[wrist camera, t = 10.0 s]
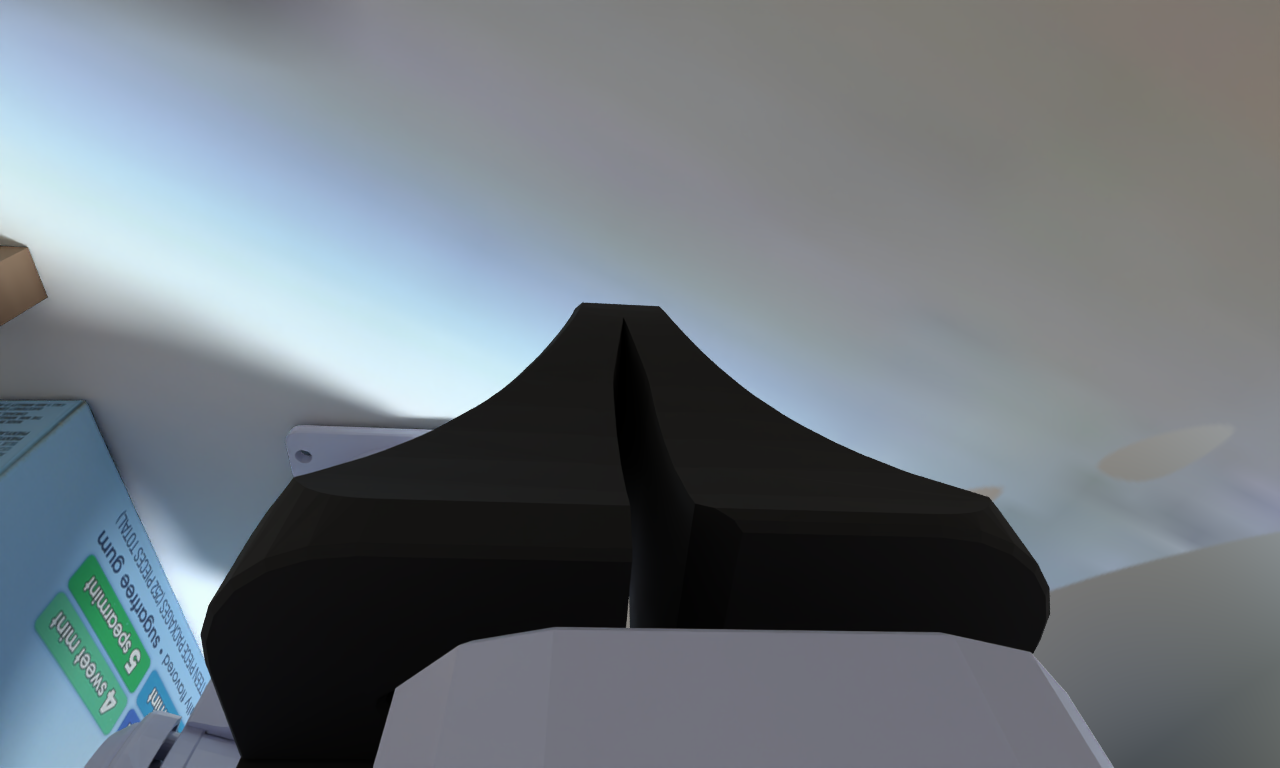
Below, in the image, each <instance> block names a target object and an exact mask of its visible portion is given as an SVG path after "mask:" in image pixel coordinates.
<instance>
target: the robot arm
mask: <svg viewBox="0 0 1280 768" xmlns="http://www.w3.org/2000/svg"><path fill="white" fill-rule="evenodd" d="M285 443H286V448H287V452H288V457H289V461H290V465H291V470H292V474H293V479H292V480H291V482H290V483H289V484H288V486H287V487H286V489H285V490H284V491H283V492H282V494H281V495H280V496H279V497H278V499H277V500H276V501H275V503H274V504H273V505H272V506H271V508H270V509H269V510H268V511H267V513H266V514H265V516H264V517H263V519H262V520H261V522H260V523H259V525H258V526H257V528H256V529H255V531H254V532H253V533H252V535H251V536H250V538H249V540H248V541H247V543H246V545H245V546H244V548H243V550H242V551H241V553H240V555H239V556H238V558H237V560H236V561H235V563H234V564H233V566H232V568H231V569H230V571H229V573H228V574H227V576H226V578H225V579H224V581H223V583H222V584H221V586H220V588H219V589H218V591H217V592H216V594H215V596H214V597H213V599H212V601H211V602H210V604H209V606H208V610H207V613H206V617H205V620H204V624H203V627H202V631H201V640H202V646H203V652H204V658H205V664H206V667H207V669H208V672H209V674H210V677H211V679H210V680H209V682H208V684H207V686H206V688H205V690H204V691H203V693H202V695H201V697H200V699H199V701H198V702H197V704H196V706H195V708H194V710H193V712H192V713H191V715H190V717H189V719H188V721H187V723H186V725H185V727H184V729H183V730H182V732H181V733H179V732H177V730H178V728H179V725H180V722H181V719H182V717H181V716H178V715H174V714H171V713H168V712H164V711H153V712H151V713H149V714H148V715H146V716H145V717H144V718H143V720H142V721H141V722H137V723H134V724H132V725H130V726H128V727H126V728H124V729H122V730H119V731H117V732H115V733H114V734H112V735H111V736H109V737H108V738H107V739H106V740H105V741H104V742H103V743H102V745H101V746H100V747H99V748H98V749H97V751H96V752H95V753H94V754H93V756H92V757H91V758H90V760H89V761H88V762H87V764H86V765H85V766H84V768H1114V767H1113V766H1112V764H1111V762H1110V761H1109V759H1108V758H1107V756H1106V754H1105V753H1104V751H1103V750H1102V748H1101V746H1100V745H1099V743H1098V742H1097V740H1096V738H1095V737H1094V735H1093V734H1092V732H1091V731H1090V729H1089V728H1088V726H1087V724H1086V723H1085V721H1084V719H1083V718H1082V716H1081V715H1080V713H1079V711H1078V710H1077V708H1076V707H1075V705H1074V704H1073V702H1072V700H1071V699H1070V698H1069V696H1068V694H1067V693H1066V692H1065V690H1064V689H1063V688H1062V687H1061V686H1060V685H1059V684H1058V683H1057V681H1056V680H1055V679H1054V678H1053V677H1052V676H1051V675H1050V673H1049V672H1048V671H1047V670H1046V669H1045V668H1044V667H1043V666H1042V664H1041V663H1040V662H1039V661H1038V660H1037V659H1036V658H1035V656H1034V655H1033V653H1034V651H1035V649H1036V647H1037V645H1038V643H1039V641H1040V640H1041V637H1042V634H1043V631H1044V629H1045V626H1046V623H1047V620H1048V618H1049V615H1050V594H1049V586H1048V584H1047V582H1046V580H1045V578H1044V576H1043V574H1042V572H1041V570H1040V568H1039V565H1038V563H1037V562H1036V561H1035V559H1034V558H1033V557H1032V555H1031V554H1030V552H1029V551H1028V550H1027V548H1026V547H1025V545H1024V544H1023V543H1022V541H1021V540H1020V539H1019V537H1018V536H1017V534H1016V533H1015V532H1014V530H1013V529H1012V527H1011V526H1010V525H1009V523H1008V522H1007V520H1006V519H1005V518H1004V516H1003V515H1002V514H1001V512H1000V511H999V509H998V508H997V507H996V506H995V504H994V503H993V502H992V500H991V499H990V498H989V497H986V496H983V495H980V494H977V493H973V492H970V491H967V490H964V489H960V488H957V487H954V486H951V485H947V484H944V483H941V482H937V481H934V480H931V479H928V478H924V477H921V476H918V475H914V474H911V473H908V472H906V471H903V470H900V469H898V468H895V467H892V466H890V465H887V464H885V463H882V462H880V461H877V460H875V459H872V458H870V457H867V456H864V455H862V454H860V453H857V452H855V451H853V450H851V449H848V448H846V447H844V446H842V445H840V444H837V443H835V442H833V441H831V440H829V439H827V438H825V437H823V436H822V435H820V434H818V433H816V432H814V431H812V430H810V429H808V428H806V427H804V426H802V425H800V424H799V423H797V422H795V421H793V420H792V419H790V418H788V417H786V416H785V415H783V414H782V413H780V412H778V411H777V410H775V409H774V408H772V407H771V406H769V405H768V404H766V403H765V402H763V401H762V400H760V399H759V398H757V397H756V396H754V395H753V394H752V393H750V392H749V391H748V390H746V389H745V388H743V387H742V386H741V385H740V384H738V383H737V382H736V381H735V380H734V379H732V378H731V377H730V376H729V375H728V374H726V373H725V372H724V371H723V370H722V369H720V368H719V367H718V366H717V365H716V364H715V363H714V362H713V361H711V360H710V359H709V358H708V357H707V356H706V355H705V354H704V353H703V352H702V351H701V350H700V349H699V348H698V347H697V346H696V345H695V344H694V343H693V342H692V341H691V340H690V339H689V338H688V337H687V336H686V335H685V334H684V333H683V332H682V331H681V329H680V328H679V327H678V326H677V325H676V324H675V323H674V322H673V321H672V320H671V318H670V317H669V316H668V315H667V314H666V313H665V312H664V311H663V310H662V309H661V308H660V307H659V306H641V305H621V304H601V303H581V304H580V305H579V306H578V307H577V308H575V310H574V312H573V314H572V315H571V317H570V318H569V320H568V321H567V323H566V324H565V326H564V327H563V328H562V330H561V331H560V332H559V333H558V335H557V336H556V337H555V338H554V339H553V340H552V342H551V343H550V344H549V345H548V346H547V347H546V349H545V350H544V351H543V352H542V353H541V354H540V355H539V356H538V357H537V358H536V359H535V360H534V361H533V362H532V363H531V364H530V365H529V366H528V367H527V368H526V369H525V370H524V371H523V372H522V373H521V374H520V375H518V376H517V377H516V378H515V379H514V380H513V381H512V382H510V383H509V384H508V385H507V386H506V387H504V388H503V389H502V390H501V391H499V392H498V393H496V394H495V395H493V396H492V397H491V398H489V399H488V400H486V401H485V402H483V403H482V404H480V405H478V406H476V407H475V408H473V409H471V410H469V411H467V412H466V413H464V414H462V415H460V416H458V417H457V418H455V419H453V420H451V421H449V422H448V423H446V424H444V425H442V426H440V427H438V428H436V429H434V430H426V429H398V428H369V427H341V426H312V425H299V426H295V427H293V428H292V429H291V430H290V432H289V433H288V435H287V436H286V438H285ZM300 450H304V451H307V452H309V453H310V454H311V456H308V455H304V454H303V453H302V452H301V451H300ZM628 600H629V604H630V628H626V621H627V611H628Z"/></svg>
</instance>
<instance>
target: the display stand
mask: <svg viewBox="0 0 1280 768" xmlns="http://www.w3.org/2000/svg"><path fill="white" fill-rule="evenodd" d="M46 298H47V295H46V292H45V290H44V287H43V285H42V282H41V279H40V277H39V274H38V272H37V269H36V267H35V264H34V262H33V259H32V257H31V254H30V251H29V249H28V248H27V247H8V246H0V326H1V325H3V324H5V323H6V322H8V321H10V320H11V319H13V318H14V317H16V316H18V315H19V314H21V313H23V312H24V311H26V310H28V309H29V308H31V307H33V306H34V305H36V304H37V303H39V302H41V301H42V300H44V299H46Z"/></svg>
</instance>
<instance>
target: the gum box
mask: <svg viewBox="0 0 1280 768" xmlns="http://www.w3.org/2000/svg"><path fill="white" fill-rule="evenodd" d="M210 679H211V677H210V674H209V672H208V669H207V667H206V664H205V660H204V658H203V656H202V654H201V651H200V649H199V647H198V645H197V643H196V640H195V638H194V636H193V634H192V632H191V630H190V628H189V626H188V623H187V621H186V619H185V617H184V614H183V612H182V610H181V608H180V605H179V603H178V601H177V599H176V597H175V595H174V593H173V591H172V588H171V586H170V584H169V582H168V580H167V577H166V575H165V573H164V571H163V568H162V566H161V564H160V562H159V559H158V557H157V555H156V553H155V551H154V549H153V546H152V544H151V542H150V540H149V538H148V536H147V533H146V531H145V529H144V527H143V525H142V523H141V521H140V519H139V517H138V515H137V513H136V510H135V508H134V506H133V503H132V501H131V499H130V497H129V495H128V492H127V490H126V488H125V486H124V484H123V482H122V480H121V477H120V475H119V473H118V471H117V469H116V466H115V464H114V462H113V460H112V458H111V456H110V453H109V451H108V449H107V447H106V445H105V442H104V440H103V438H102V436H101V434H100V431H99V429H98V427H97V424H96V422H95V420H94V417H93V415H92V413H91V410H90V408H89V406H88V404H87V403H86V401H85V400H0V768H84V766H85V765H86V764H87V762H88V761H89V760H90V758H91V757H92V756H93V754H94V753H95V752H96V751H97V749H98V748H99V747H100V746H101V745H102V743H103V742H104V741H105V740H106V739H107V738H108V737H109V736H111V735H112V734H114V733H115V732H117V731H119V730H122V729H124V728H126V727H128V726H130V725H132V724H134V723H137V722H141V721H142V720H143V718H144V717H145V716H146V715H148V714H149V713H151V712H153V711H164V712H168V713H171V714H174V715H178V716H181V717H182V719H181V722H180V725H179V728H178V730H177V732H179V733H181V732H182V730H183V729H184V727H185V725H186V723H187V721H188V719H189V717H190V715H191V713H192V712H193V710H194V708H195V706H196V704H197V702H198V701H199V699H200V697H201V695H202V693H203V691H204V690H205V688H206V686H207V684H208V682H209V680H210Z"/></svg>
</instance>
